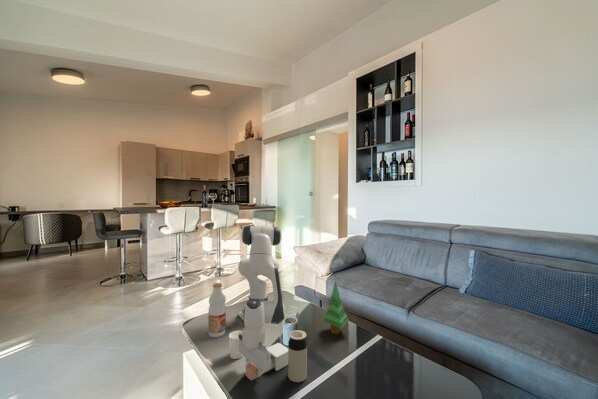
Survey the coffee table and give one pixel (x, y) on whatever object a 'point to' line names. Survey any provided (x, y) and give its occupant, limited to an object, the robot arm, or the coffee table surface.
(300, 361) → the travel mug
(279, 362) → the tunnel
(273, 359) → the rod
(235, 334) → the white cup
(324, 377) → the coffee table surface
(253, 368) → the block
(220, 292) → the fruit juice
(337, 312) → the decorative tree
